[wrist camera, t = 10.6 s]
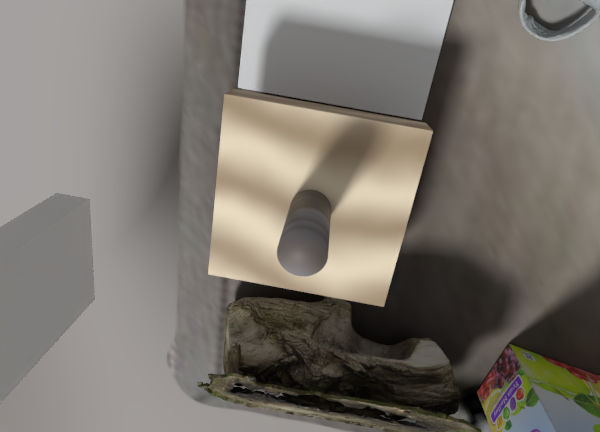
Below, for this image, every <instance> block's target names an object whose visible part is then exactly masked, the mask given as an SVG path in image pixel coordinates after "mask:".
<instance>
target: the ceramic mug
mask: <svg viewBox="0 0 600 432" xmlns="http://www.w3.org/2000/svg"><path fill="white" fill-rule="evenodd" d="M580 1H582V2H583V3H585V4H587V5H589V6H590V7H593V9H592V10H591V11H590V12H589V13H588V14H586V15H585V16H584V17H583V18H581V19H580V20H579V21H577V22H576V23H574V24H573V25H571V26H569V27H567V28H564V29H561V30H558V31H554V30H548V29H547V28H545V27H543V26H542V25H540V24H538V23H537V22H536V21H534V19H533V17H532V16H531V15H527V13H525V6H526V0H519V2H518V14H519V19H520V21H521V24H522V26H523V28H524V29H525V30H526V31H527V32H528V33H530V34H531V35H532V36H534V37H536V38H537V39H540V40H544V41H559V40H563V39H566V38H569V37H571V36H573V35H575V34H577V33H579V32H580V31H582V30H584V29H585V28H586V27H588V26H589V25H590V24H591V23H593V22H594V21H595V20H596V19H597V18H598V17H599V16H600V0H580Z"/></svg>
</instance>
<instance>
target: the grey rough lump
mask: <svg viewBox="0 0 600 432" xmlns="http://www.w3.org/2000/svg"><path fill="white" fill-rule="evenodd" d="M223 365H224V372H225V374H223V375H216V374H208V375H209V379H211V382H210V384H208V383H206V384H203V383H202V382H198V386H199V387H201V388H205V389H204V390H205V391H206V390H207V391H208V392H209V393H210V394H211V395H213V396H216V397H220V398H222V399H223V400H227V401H230V402H233V403H236V404H244V405H246V406H248V407H251V408H258V409H260V408H264V409H270V410H274V411H282V412H285V413H288V414H294V415H302V416H308V417H316V418H321V419H327V420H331V421H336V422H345V423H348V424H353V425H359V426H366V427H371V428H378V429H382V430H383V431H386V432H446V431H456V432H481V429H479V428H476V427H474V426H473V425H472V424H470V423H469V422H467V421H465V420H463V419H456V418H453V417H451V416H449V415H451V414H455V413H456V412H457V411H458V408H459V406H458V399H459V396H460V392H459V388H458V387H457V386H456V384H455V381H454V378H453V371H452V368H451V364H450V361H449V360H448V358H447V357H446V355H445V354H444V352H443V351H442V349H441V348H440V347H439V346H438V344H437V343H436V342H434V341H432V340H431V339H430V338H421V339H419V338H410V339H407V340H405V341H402V342H400V343H397V344H395V345H390V346H386V345H383V344H379V343H376V342H373V341H371V340H368V339H365V338H362V337H361V336H360V335H359V334H357V333H356V332H355V331H354V329H353V327H352V308H351V304H350V303H348V302H346V301H344V300H342V299H338V298H333V297H328V296H326V297H325V299H324V300H322V301H318V302H313V303H310V302H305V301H293V300H287V299H282V298H264V297H244V298H241V299H239V300H237V301H235V302H233V303H230V304H229V305H228V306H227V308H226V317H225V343H224V355H223ZM234 385H236V386H245V387H247V388H249V389H250V390H249V389H247V388H245V389H242V388H241V387H234ZM258 389H263V390H265V393H266V392H268V393H267V394H265V393H264V392H261V391H254V390H258ZM252 391H254V392H252ZM280 393H282V394H283V396H284V397H283V396H279V397H278V398H277V397H275V396H274V395H276V396H277V395H279V394H280ZM380 415H384V416H385V417H386V418H384V417H382V416H380ZM387 418H390V419H387ZM405 418H409V419H412V420H416V422H415V423H410V422H408V421H398V420H401V419H405Z"/></svg>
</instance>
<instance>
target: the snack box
mask: <svg viewBox="0 0 600 432" xmlns="http://www.w3.org/2000/svg"><path fill="white" fill-rule="evenodd" d="M477 393H478V396H479V398H480V401H481V404H482V406H483V409H484V412H485V414H486V417H487V420H488V422H489V425H490V428H491V431H492V432H600V376H599V375H596V374H593V373H590V372H587V371H584V370H581V369H579V368H576V367H573V366H570V365H567V364H564V363H561V362H559V361H556V360H553V359H550V358H547V357H544V356H542V355H539V354H536V353H533V352H530V351H527V350H525V349H522V348H519V347H516V346H514V345H511V344H508V346H507V347H506V349H505V350H504V352H503V353H502V355H501V356H500V358H499V359H498V361H497V362H496V364H495V365H494V367H493V368H492V370H491V371H490V373H489V375H488V376H487V378H486V379H485V381H484V382H483V384H482V385H481V387H480V388H479V390H478V391H477Z"/></svg>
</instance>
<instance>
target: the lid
mask: <svg viewBox="0 0 600 432" xmlns="http://www.w3.org/2000/svg"><path fill="white" fill-rule="evenodd" d="M432 134H433V130H432V129H431V128H430V127H429V126H428V125H427V123H424V122H418V121H412V120H407V119H401V118H396V117H390V116H384V115H379V114H373V113H368V112H362V111H356V110H351V109H345V108H339V107H334V106H328V105H323V104H317V103H311V102H306V101H300V100H294V99H289V98H283V97H278V96H272V95H266V94H261V93H255V92H249V91H244V90H238V89H232V90H231V91H229V92H227V93H225V94H224V103H223V114H222V125H221V136H220V148H219V159H218V170H217V181H216V192H215V203H214V214H213V226H212V237H211V248H210V259H209V270H208V274H210V275H215V276H221V277H226V278H231V279H237V280H242V281H247V282H253V283H258V284H263V285H269V286H274V287H279V288H285V289H290V290H295V291H301V292H306V293H312V294H317V295H322V296H328V297H333V298H338V299H344V300H349V301H354V302H360V303H365V304H370V305H376V306H381V307H384V305H385V301H386V297H387V294H388V290H389V287H390V283H391V280H392V276H393V273H394V269H395V265H396V262H397V258H398V255H399V251H400V248H401V244H402V241H403V237H404V233H405V230H406V226H407V223H408V219H409V216H410V212H411V209H412V205H413V201H414V198H415V194H416V191H417V187H418V184H419V180H420V177H421V173H422V169H423V166H424V162H425V159H426V155H427V152H428V148H429V144H430V141H431V137H432Z"/></svg>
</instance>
